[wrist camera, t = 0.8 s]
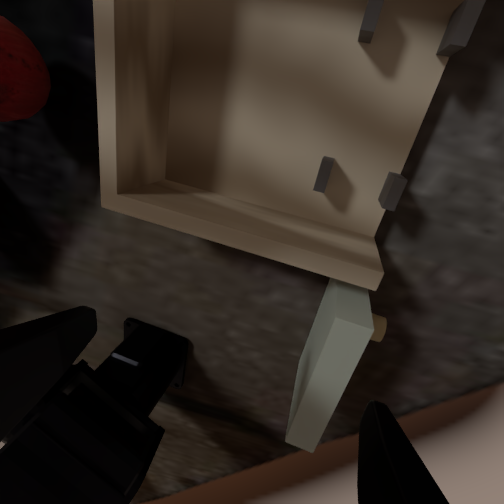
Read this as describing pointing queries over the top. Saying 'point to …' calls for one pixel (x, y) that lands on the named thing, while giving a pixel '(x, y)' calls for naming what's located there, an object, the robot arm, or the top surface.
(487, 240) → the top surface
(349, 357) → the door
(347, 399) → the top surface
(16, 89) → the red oval fruit
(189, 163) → the beige shallow square box
